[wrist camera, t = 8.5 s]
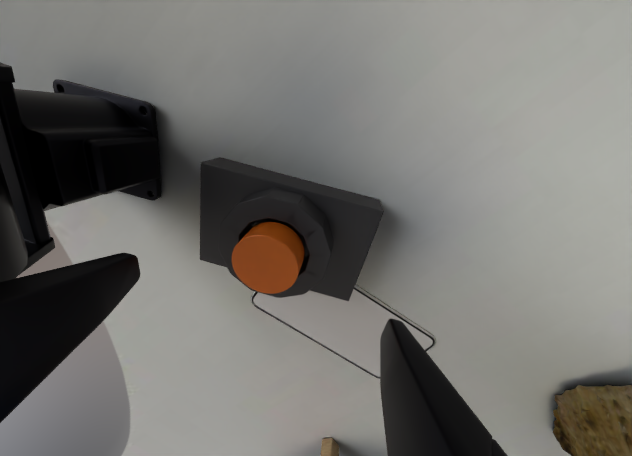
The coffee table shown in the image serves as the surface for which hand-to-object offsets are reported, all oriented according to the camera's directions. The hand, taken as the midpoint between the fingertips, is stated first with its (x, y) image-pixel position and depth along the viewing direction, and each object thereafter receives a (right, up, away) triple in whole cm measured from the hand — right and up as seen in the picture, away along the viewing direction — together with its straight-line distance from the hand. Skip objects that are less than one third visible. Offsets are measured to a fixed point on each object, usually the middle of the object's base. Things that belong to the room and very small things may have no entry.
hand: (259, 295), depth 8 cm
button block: (0, +3, +9) cm, 9 cm away
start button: (0, +1, +6) cm, 6 cm away
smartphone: (+4, -5, +12) cm, 14 cm away
